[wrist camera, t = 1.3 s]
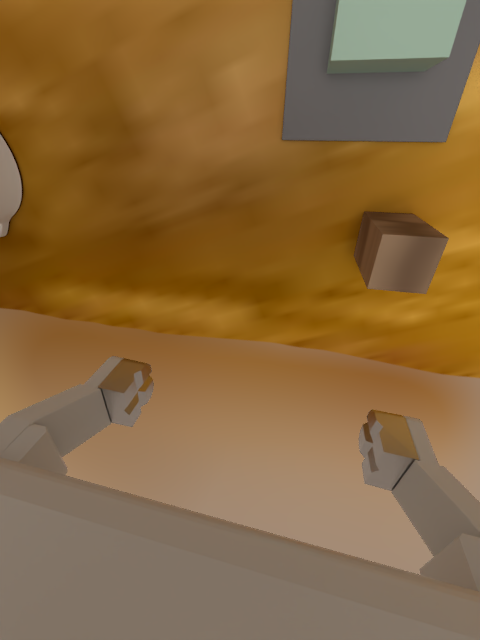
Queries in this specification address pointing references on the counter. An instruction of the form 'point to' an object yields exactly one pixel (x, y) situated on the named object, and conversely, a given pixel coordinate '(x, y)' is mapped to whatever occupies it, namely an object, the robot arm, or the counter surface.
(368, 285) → the walnut block
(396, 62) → the sage brick
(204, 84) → the counter surface
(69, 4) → the counter surface
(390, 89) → the mat
